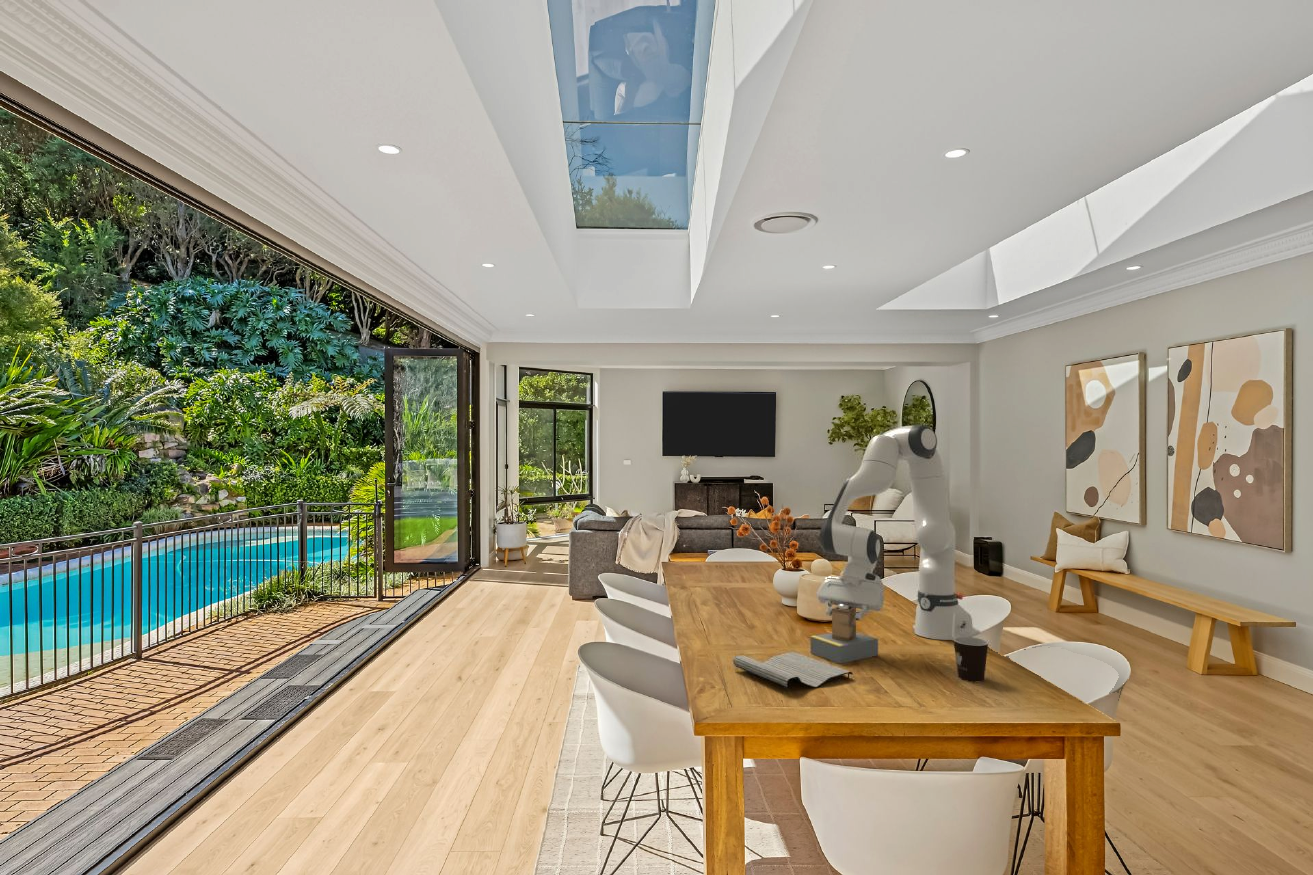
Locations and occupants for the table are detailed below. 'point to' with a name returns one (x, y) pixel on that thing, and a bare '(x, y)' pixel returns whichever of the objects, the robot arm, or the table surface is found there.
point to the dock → (844, 647)
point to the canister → (843, 606)
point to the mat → (791, 669)
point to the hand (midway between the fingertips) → (842, 617)
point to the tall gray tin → (843, 624)
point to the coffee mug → (970, 658)
